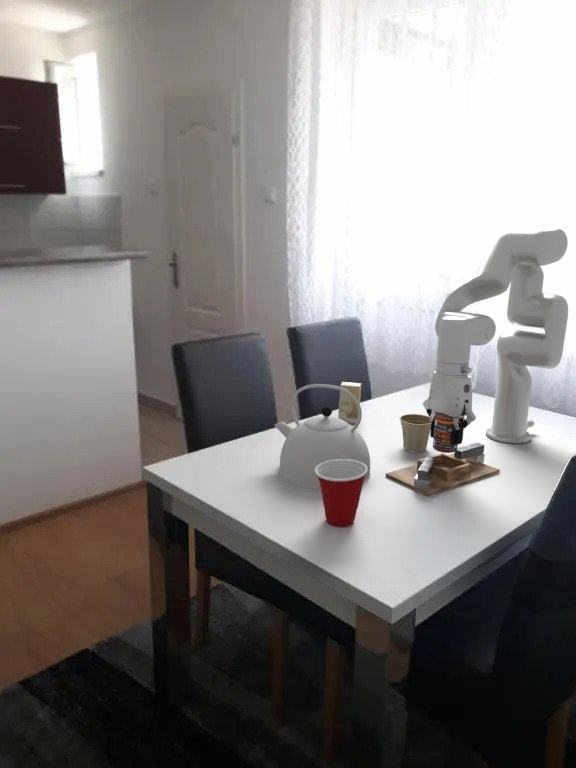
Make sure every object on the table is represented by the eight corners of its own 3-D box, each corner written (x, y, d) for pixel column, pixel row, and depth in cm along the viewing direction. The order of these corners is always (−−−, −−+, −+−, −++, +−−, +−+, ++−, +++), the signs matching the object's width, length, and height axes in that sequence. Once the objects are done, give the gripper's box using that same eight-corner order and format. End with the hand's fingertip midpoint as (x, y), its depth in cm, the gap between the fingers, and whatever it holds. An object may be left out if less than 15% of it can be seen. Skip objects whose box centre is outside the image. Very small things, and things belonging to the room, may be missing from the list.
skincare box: (337, 422, 195) (339, 384, 192) (339, 418, 199) (341, 381, 196) (358, 424, 194) (360, 386, 191) (359, 420, 198) (361, 382, 195)
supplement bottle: (430, 451, 152) (434, 406, 149) (434, 444, 157) (438, 400, 154) (455, 455, 150) (459, 410, 147) (458, 447, 155) (462, 403, 152)
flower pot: (432, 456, 168) (435, 425, 166) (397, 453, 170) (399, 422, 167) (431, 444, 177) (434, 415, 175) (398, 441, 178) (400, 412, 176)
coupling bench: (455, 455, 168) (456, 444, 167) (499, 472, 157) (500, 460, 156) (385, 476, 153) (386, 463, 153) (428, 496, 142) (429, 483, 142)
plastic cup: (310, 510, 134) (311, 457, 132) (359, 508, 135) (362, 457, 132) (316, 534, 124) (318, 477, 121) (370, 532, 125) (373, 476, 122)
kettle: (256, 480, 150) (256, 389, 145) (289, 449, 171) (290, 369, 165) (357, 497, 142) (362, 401, 136) (379, 463, 162) (384, 379, 157)
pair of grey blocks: (473, 458, 164) (475, 441, 163) (499, 467, 158) (500, 450, 157) (398, 481, 149) (400, 463, 148) (423, 492, 142) (425, 473, 141)
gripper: (492, 373, 144) (484, 447, 148) (435, 360, 157) (429, 428, 162) (471, 377, 140) (464, 453, 144) (414, 363, 153) (409, 433, 158)
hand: (445, 439), depth 153 cm, fingers closed on supplement bottle, 6 cm apart
